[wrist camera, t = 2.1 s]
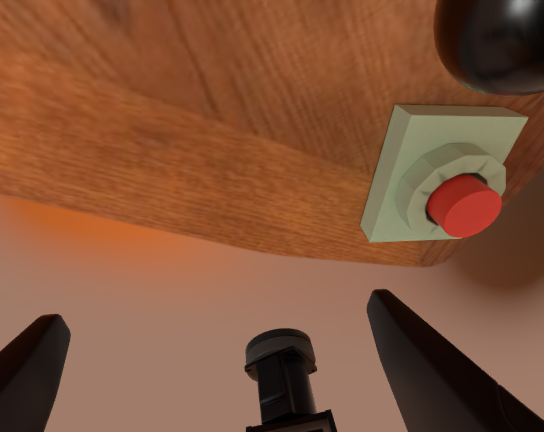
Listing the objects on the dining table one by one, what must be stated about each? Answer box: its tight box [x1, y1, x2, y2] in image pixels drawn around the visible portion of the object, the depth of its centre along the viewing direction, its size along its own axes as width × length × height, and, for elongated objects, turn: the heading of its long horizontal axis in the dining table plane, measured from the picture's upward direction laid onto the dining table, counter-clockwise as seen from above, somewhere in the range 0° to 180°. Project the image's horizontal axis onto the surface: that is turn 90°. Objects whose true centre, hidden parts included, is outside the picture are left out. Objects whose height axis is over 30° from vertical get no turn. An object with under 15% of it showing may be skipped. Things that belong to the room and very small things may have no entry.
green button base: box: [360, 104, 528, 242], centre depth 22 cm, size 10×8×4 cm
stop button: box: [427, 174, 502, 238], centre depth 20 cm, size 4×4×2 cm
